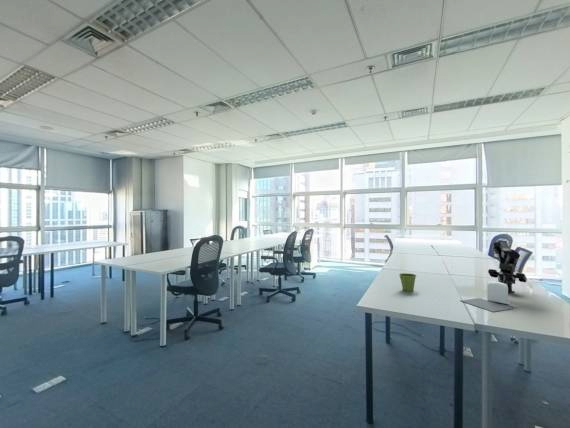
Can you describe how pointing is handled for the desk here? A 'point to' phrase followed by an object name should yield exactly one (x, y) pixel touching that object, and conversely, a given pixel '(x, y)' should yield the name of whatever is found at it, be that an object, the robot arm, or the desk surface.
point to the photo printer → (497, 292)
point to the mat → (486, 305)
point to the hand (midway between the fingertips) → (502, 285)
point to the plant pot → (407, 281)
